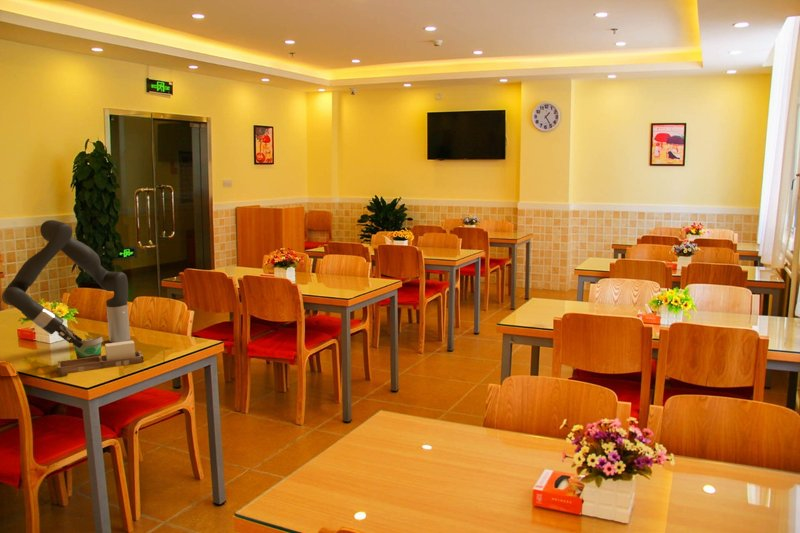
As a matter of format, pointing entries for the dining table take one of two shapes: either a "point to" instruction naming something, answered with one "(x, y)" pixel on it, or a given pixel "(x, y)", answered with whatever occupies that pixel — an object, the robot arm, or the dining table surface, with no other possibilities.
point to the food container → (89, 348)
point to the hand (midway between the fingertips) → (81, 343)
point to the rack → (95, 363)
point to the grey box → (120, 350)
